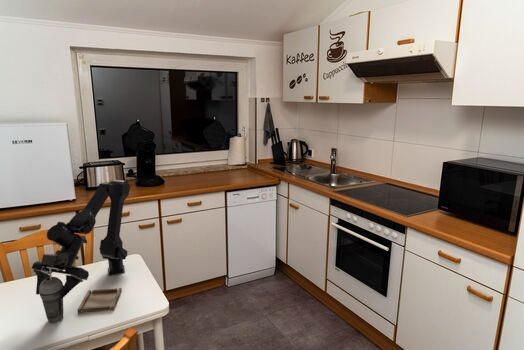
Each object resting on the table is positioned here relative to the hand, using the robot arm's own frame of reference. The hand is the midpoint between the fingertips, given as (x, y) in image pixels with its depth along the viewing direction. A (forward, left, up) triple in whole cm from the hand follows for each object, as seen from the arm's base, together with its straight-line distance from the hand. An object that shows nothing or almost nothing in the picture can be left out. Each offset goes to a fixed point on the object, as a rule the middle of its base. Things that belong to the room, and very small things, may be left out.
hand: (48, 296), depth 118 cm
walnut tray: (-6, +15, -10) cm, 19 cm away
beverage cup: (-1, +1, -10) cm, 10 cm away
